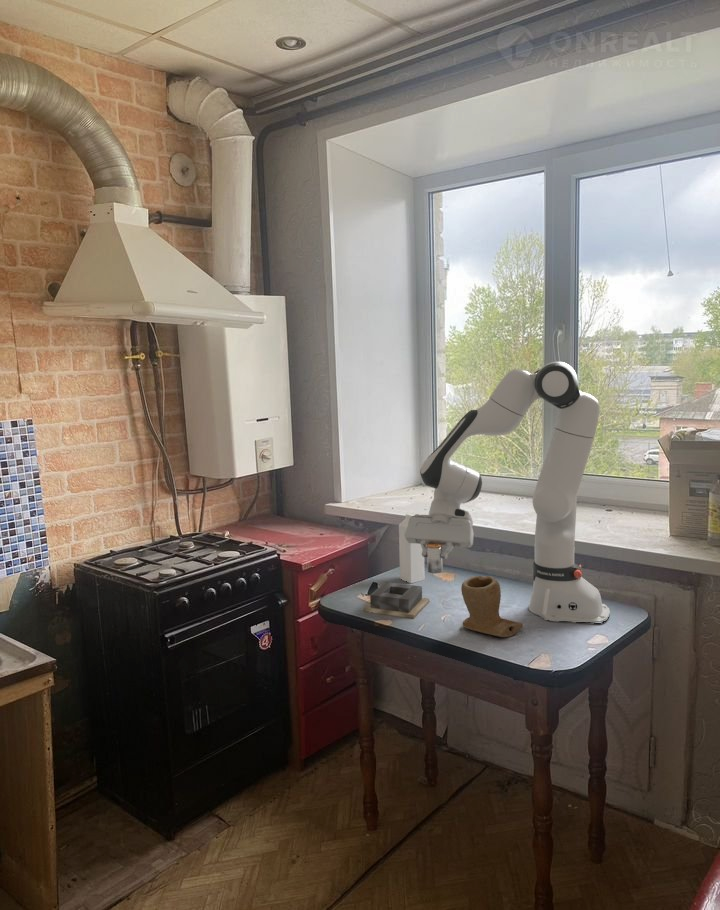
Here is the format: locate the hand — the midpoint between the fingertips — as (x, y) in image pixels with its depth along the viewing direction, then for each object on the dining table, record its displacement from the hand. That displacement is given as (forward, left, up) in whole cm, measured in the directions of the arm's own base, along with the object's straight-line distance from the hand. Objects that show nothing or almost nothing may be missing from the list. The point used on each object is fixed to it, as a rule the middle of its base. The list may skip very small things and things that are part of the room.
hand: (434, 556), depth 197 cm
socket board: (+12, -1, -17) cm, 21 cm away
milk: (+16, -26, -17) cm, 35 cm away
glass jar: (0, -1, -4) cm, 4 cm away
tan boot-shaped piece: (-18, +8, -17) cm, 26 cm away
